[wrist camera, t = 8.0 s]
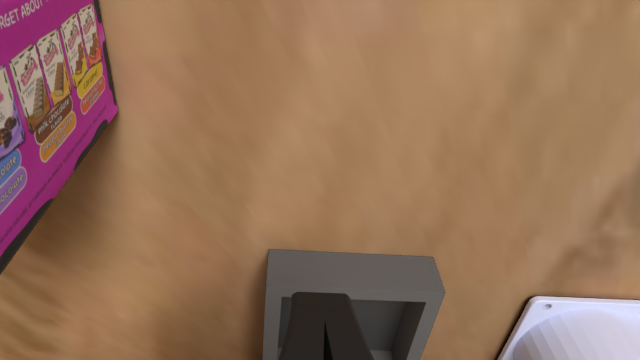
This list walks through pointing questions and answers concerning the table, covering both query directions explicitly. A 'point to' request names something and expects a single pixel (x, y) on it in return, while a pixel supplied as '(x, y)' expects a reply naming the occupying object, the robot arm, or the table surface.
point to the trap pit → (358, 297)
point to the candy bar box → (47, 105)
